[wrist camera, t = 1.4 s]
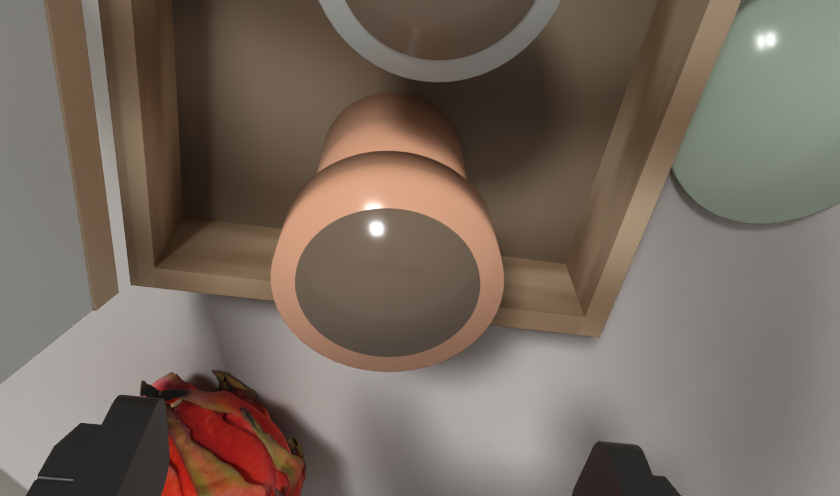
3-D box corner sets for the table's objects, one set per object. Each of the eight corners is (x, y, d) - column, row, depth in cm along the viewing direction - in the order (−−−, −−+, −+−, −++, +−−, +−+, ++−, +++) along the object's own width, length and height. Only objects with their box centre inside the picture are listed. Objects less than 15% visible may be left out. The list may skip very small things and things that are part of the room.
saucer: (725, -49, 19) (735, -45, 18) (979, -2, 20) (997, 3, 19) (628, 198, 23) (634, 207, 23) (838, 226, 24) (849, 236, 24)
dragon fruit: (256, 484, 35) (192, 296, 30) (374, 551, 30) (321, 339, 25) (113, 612, 29) (3, 403, 24) (230, 722, 24) (122, 488, 19)
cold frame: (-183, -410, 14) (-1695, -1015, 4) (757, -211, 16) (1326, -270, 6) (-24, 205, 23) (-367, 510, 13) (577, 278, 25) (694, 583, 15)
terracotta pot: (313, 64, 20) (273, 169, 14) (492, 91, 21) (530, 203, 14) (303, 220, 23) (267, 361, 17) (458, 239, 24) (477, 382, 18)
